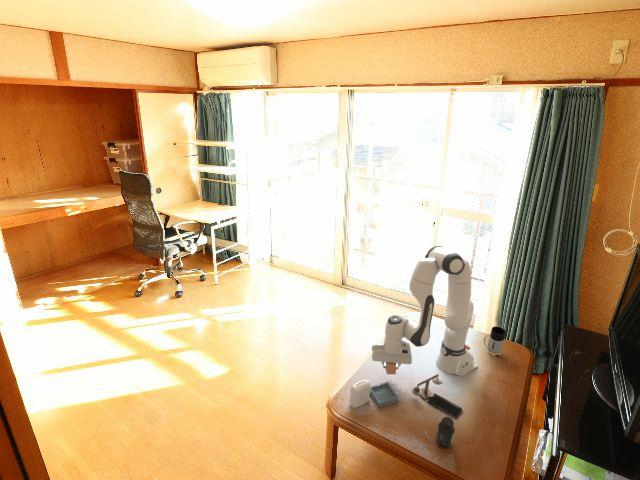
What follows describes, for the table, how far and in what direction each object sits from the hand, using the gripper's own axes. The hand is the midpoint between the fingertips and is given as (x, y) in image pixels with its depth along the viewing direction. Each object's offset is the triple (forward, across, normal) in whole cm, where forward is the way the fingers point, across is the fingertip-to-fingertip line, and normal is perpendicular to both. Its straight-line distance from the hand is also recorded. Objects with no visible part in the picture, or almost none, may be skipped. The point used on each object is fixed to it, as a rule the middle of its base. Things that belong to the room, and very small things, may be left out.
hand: (390, 368), depth 193 cm
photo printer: (+7, -15, -19) cm, 25 cm away
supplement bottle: (+8, +22, -35) cm, 42 cm away
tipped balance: (+8, +18, -8) cm, 21 cm away
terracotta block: (+2, 0, 0) cm, 2 cm away
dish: (+7, -4, -13) cm, 15 cm away
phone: (+8, +26, -14) cm, 31 cm away
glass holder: (+8, +60, +32) cm, 69 cm away
